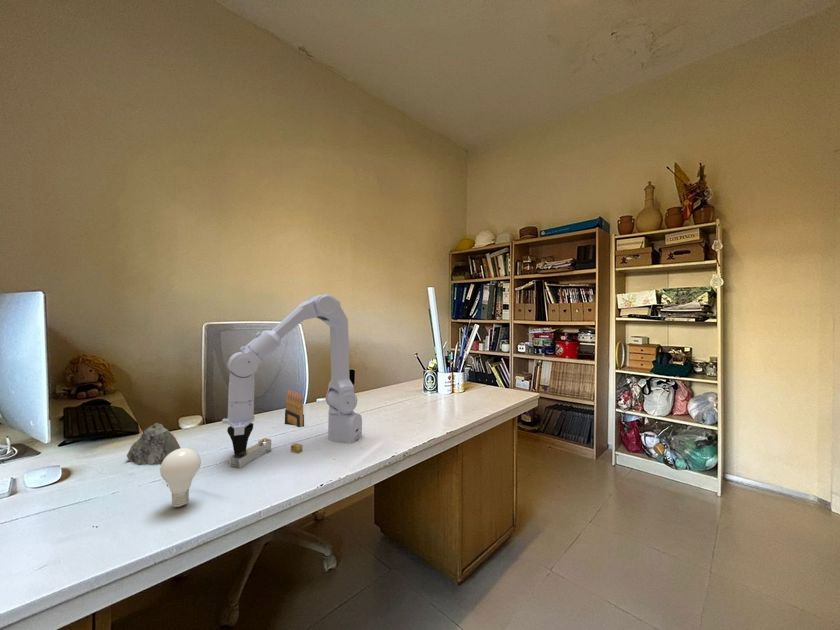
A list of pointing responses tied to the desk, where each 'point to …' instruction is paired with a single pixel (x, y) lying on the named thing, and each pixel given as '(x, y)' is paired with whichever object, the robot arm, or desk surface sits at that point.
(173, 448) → the mineral rock
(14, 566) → the desk surface
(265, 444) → the swing bar
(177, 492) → the lightbulb
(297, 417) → the ammunition clip
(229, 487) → the desk surface
